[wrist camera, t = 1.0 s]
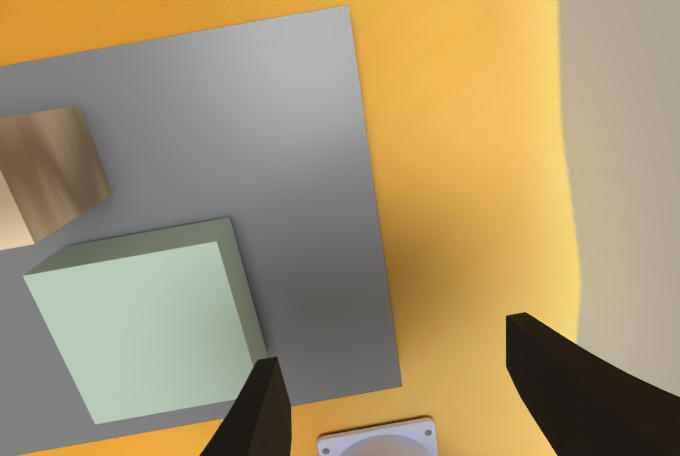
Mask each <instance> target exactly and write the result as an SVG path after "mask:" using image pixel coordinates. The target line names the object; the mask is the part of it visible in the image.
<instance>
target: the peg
mask: <svg viewBox="0 0 680 456" xmlns="http://www.w3.org/2000/svg"><path fill="white" fill-rule="evenodd" d="M112 194H113V192H112V189H111V187H110V184H109V181H108V179H107V176H106V173H105V170H104V168H103V165H102V162H101V160H100V157H99V154H98V152H97V149H96V146H95V144H94V141H93V138H92V136H91V133H90V130H89V128H88V125H87V122H86V120H85V117H84V114H83V111H82V109H81V106H80V105H79V106H73V107H67V108H61V109H55V110H49V111H43V112H37V113H31V114H24V115H18V116H12V117H6V118H0V250H4V249H10V248H15V247H21V246H27V245H32V244H36V243H37V242H39V241H40V240H42V239H43V238H45V237H47V236H48V235H50V234H51V233H53V232H54V231H56V230H57V229H59V228H61V227H62V226H64V225H65V224H67V223H68V222H70V221H72V220H73V219H75V218H76V217H78V216H79V215H81V214H82V213H84V212H86V211H87V210H89V209H90V208H92V207H93V206H95V205H97V204H98V203H100V202H101V201H103V200H104V199H106V198H107V197H109V196H111V195H112Z"/></svg>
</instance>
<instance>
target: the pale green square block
mask: <svg viewBox="0 0 680 456" xmlns="http://www.w3.org/2000/svg"><path fill="white" fill-rule="evenodd" d="M23 277H24V280H25V282H26V284H27V286H28V288H29V290H30V292H31V294H32V296H33V298H34V300H35V302H36V304H37V306H38V308H39V310H40V312H41V314H42V316H43V318H44V320H45V323H46V325H47V327H48V329H49V331H50V333H51V335H52V337H53V339H54V341H55V343H56V345H57V347H58V349H59V351H60V353H61V355H62V357H63V359H64V361H65V363H66V366H67V368H68V370H69V372H70V374H71V376H72V378H73V380H74V382H75V384H76V386H77V388H78V390H79V392H80V394H81V396H82V398H83V400H84V402H85V404H86V406H87V409H88V411H89V413H90V415H91V417H92V419H93V421H94V423H95V424H100V423H106V422H112V421H117V420H123V419H128V418H134V417H140V416H145V415H151V414H156V413H162V412H168V411H173V410H179V409H184V408H190V407H195V406H201V405H207V404H212V403H218V402H223V401H229V400H235V399H236V398H237V397H238V395H239V393H240V391H241V389H242V388H243V386H244V384H245V382H246V380H247V378H248V376H249V374H250V372H251V371H252V369H253V367H254V365H255V363H256V362H257V360H259V359H265V358H267V351H266V347H265V344H264V340H263V336H262V333H261V329H260V325H259V322H258V318H257V315H256V311H255V307H254V304H253V300H252V296H251V293H250V289H249V286H248V282H247V278H246V275H245V271H244V267H243V264H242V260H241V256H240V253H239V249H238V246H237V242H236V238H235V235H234V231H233V227H232V224H231V220H230V217H228V218H222V219H217V220H211V221H205V222H200V223H194V224H189V225H183V226H177V227H172V228H166V229H160V230H155V231H149V232H144V233H138V234H132V235H127V236H121V237H116V238H110V239H104V240H99V241H93V242H87V243H82V244H76V245H71V246H65V247H62V248H61V249H59V250H58V251H56V252H55V253H54V254H52V255H51V256H50V257H48V258H47V259H45V260H44V261H43V262H41V263H40V264H38V265H37V266H36V267H34V268H33V269H32V270H30V271H29V272H27V273H26V274H25V275H23Z"/></svg>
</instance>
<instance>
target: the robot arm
mask: <svg viewBox="0 0 680 456" xmlns="http://www.w3.org/2000/svg"><path fill="white" fill-rule="evenodd" d="M506 367H507V370H508V372H509V374H510V376H511V378H512V380H513V383H514V385H515V387H516V389H517V391H518V393H519V395H520V397H521V399H522V400H523V402H524V404H525V405H526V407H527V408H528V410H529V412H530V413H531V415H532V416H533V418H534V420H535V421H536V423H537V424H538V426H539V427H540V429H541V431H542V432H543V434H544V435H545V437H546V438H547V440H548V441H549V443H550V445H551V446H552V448H553V449H554V451H555V452H556V454H557V456H680V397H678V396H676V395H673V394H671V393H669V392H666V391H664V390H662V389H659V388H658V387H655V386H653V385H651V384H649V383H647V382H645V381H643V380H640V379H638V378H636V377H634V376H632V375H630V374H628V373H626V372H624V371H622V370H620V369H619V368H617V367H615V366H613V365H611V364H609V363H608V362H605V361H604V360H602V359H600V358H599V357H597V356H595V355H593V354H591V353H590V352H588V351H586V350H584V349H583V348H581V347H580V346H578V345H577V344H575V343H573V342H572V341H570V340H568V339H567V338H565V337H564V336H562V335H560V334H559V333H557V332H556V331H554V330H553V329H551V328H550V327H548V326H546V325H545V324H543V323H542V322H540V321H539V320H537V319H536V318H534V317H532V316H531V315H529V314H528V313H526V312H524V313H519V314H513V315H507V316H506ZM427 430H429V431H427ZM291 439H292V429H291V403H290V400H289V396H288V393H287V389H286V386H285V382H284V379H283V375H282V372H281V368H280V365H279V361H278V357H277V356H276V357H270V358H265V359H259V360H257V362H256V363H255V365H254V367H253V369H252V371H251V372H250V374H249V376H248V378H247V380H246V382H245V384H244V386H243V388H242V389H241V391H240V393H239V395H238V397H237V398H236V400H235V402H234V403H233V405H232V407H231V409H230V410H229V412H228V414H227V415H226V417H225V419H224V420H223V422H222V423H221V425H220V426H219V428H218V429H217V431H216V432H215V434H214V435H213V437H212V439H211V440H210V442H209V443H208V444H207V446H206V447H205V449H204V450H203V451H202V453H201V454H200V455H199V456H290V450H291ZM317 447H318V451H319V456H438V448H437V439H436V430H435V424H434V421H433V419H431V418H421V419H415V420H409V421H404V422H398V423H393V424H387V425H382V426H376V427H370V428H365V429H359V430H354V431H348V432H342V433H337V434H331V435H326V436H322V437H320V438H318V440H317ZM325 448H328V449H325Z"/></svg>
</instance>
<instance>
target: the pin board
mask: <svg viewBox="0 0 680 456" xmlns="http://www.w3.org/2000/svg"><path fill="white" fill-rule="evenodd" d="M79 105H80V106H81V109H82V111H83V114H84V117H85V120H86V122H87V125H88V128H89V130H90V133H91V136H92V138H93V141H94V144H95V146H96V149H97V152H98V154H99V157H100V160H101V162H102V165H103V168H104V170H105V173H106V176H107V179H108V181H109V184H110V187H111V189H112V192H113V194H112V195H111V196H109V197H107V198H106V199H104V200H103V201H101V202H100V203H98V204H97V205H95V206H93V207H92V208H90V209H89V210H87V211H86V212H84V213H82V214H81V215H79V216H78V217H76V218H75V219H73V220H72V221H70V222H68V223H67V224H65V225H64V226H62V227H61V228H59V229H57V230H56V231H54V232H53V233H51V234H50V235H48V236H47V237H45V238H43V239H42V240H40V241H39V242H37V243H36V244H32V245H27V246H21V247H15V248H10V249H4V250H0V456H16V455H22V454H27V453H33V452H38V451H44V450H50V449H55V448H61V447H66V446H72V445H78V444H83V443H89V442H94V441H100V440H105V439H111V438H117V437H122V436H128V435H133V434H139V433H145V432H150V431H156V430H161V429H167V428H173V427H178V426H184V425H189V424H195V423H200V422H206V421H212V420H217V419H223V418H225V417H226V415H227V414H228V412H229V410H230V409H231V407H232V405H233V403H234V402H235V400H236V399H235V400H229V401H223V402H218V403H212V404H207V405H201V406H195V407H190V408H184V409H179V410H173V411H168V412H162V413H156V414H151V415H145V416H140V417H134V418H128V419H123V420H117V421H112V422H106V423H100V424H95V423H94V421H93V419H92V417H91V415H90V413H89V411H88V409H87V406H86V404H85V402H84V400H83V398H82V396H81V394H80V392H79V390H78V388H77V386H76V384H75V382H74V380H73V378H72V376H71V374H70V372H69V370H68V368H67V366H66V363H65V361H64V359H63V357H62V355H61V353H60V351H59V349H58V347H57V345H56V343H55V341H54V339H53V337H52V335H51V333H50V331H49V329H48V327H47V325H46V323H45V320H44V318H43V316H42V314H41V312H40V310H39V308H38V306H37V304H36V302H35V300H34V298H33V296H32V294H31V292H30V290H29V288H28V286H27V284H26V282H25V280H24V277H23V275H25V274H26V273H27V272H29V271H30V270H32V269H33V268H34V267H36V266H37V265H38V264H40V263H41V262H43V261H44V260H45V259H47V258H48V257H50V256H51V255H52V254H54V253H55V252H56V251H58V250H59V249H61V248H62V247H65V246H71V245H76V244H82V243H87V242H93V241H99V240H104V239H110V238H116V237H121V236H127V235H132V234H138V233H144V232H149V231H155V230H160V229H166V228H172V227H177V226H183V225H189V224H194V223H200V222H205V221H211V220H217V219H222V218H228V217H230V220H231V224H232V227H233V231H234V235H235V238H236V242H237V246H238V249H239V253H240V256H241V260H242V264H243V267H244V271H245V275H246V278H247V282H248V286H249V289H250V293H251V296H252V300H253V304H254V307H255V311H256V315H257V318H258V322H259V325H260V329H261V333H262V336H263V340H264V344H265V347H266V351H267V358H270V357H276V356H277V357H278V361H279V365H280V368H281V372H282V375H283V379H284V382H285V386H286V389H287V393H288V396H289V400H290V403H291V406H295V405H301V404H307V403H312V402H318V401H323V400H329V399H335V398H340V397H346V396H351V395H357V394H363V393H368V392H374V391H379V390H385V389H390V388H396V387H402V381H401V374H400V366H399V359H398V352H397V345H396V338H395V331H394V324H393V317H392V310H391V303H390V295H389V288H388V281H387V274H386V267H385V260H384V253H383V246H382V239H381V232H380V224H379V217H378V210H377V203H376V196H375V189H374V182H373V175H372V168H371V161H370V153H369V146H368V139H367V132H366V125H365V118H364V111H363V104H362V97H361V90H360V82H359V75H358V68H357V61H356V54H355V47H354V40H353V33H352V26H351V19H350V12H349V5H345V6H339V7H334V8H328V9H322V10H317V11H311V12H306V13H300V14H294V15H289V16H283V17H277V18H272V19H266V20H260V21H255V22H249V23H243V24H238V25H232V26H227V27H221V28H215V29H210V30H204V31H198V32H193V33H187V34H181V35H176V36H170V37H164V38H159V39H153V40H147V41H142V42H136V43H131V44H125V45H119V46H114V47H108V48H102V49H97V50H91V51H85V52H80V53H74V54H68V55H63V56H57V57H51V58H46V59H40V60H35V61H29V62H23V63H18V64H12V65H6V66H1V67H0V118H6V117H12V116H18V115H24V114H31V113H37V112H43V111H49V110H55V109H61V108H67V107H73V106H79Z"/></svg>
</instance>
